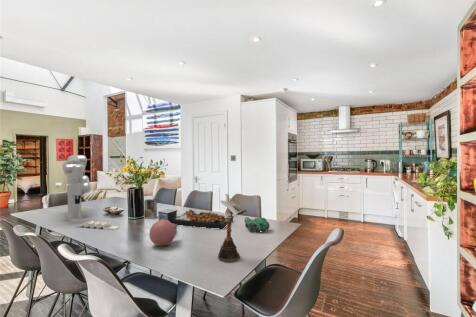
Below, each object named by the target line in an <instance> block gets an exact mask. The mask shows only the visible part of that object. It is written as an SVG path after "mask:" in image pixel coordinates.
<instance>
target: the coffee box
mask: <svg viewBox="0 0 476 317" xmlns="http://www.w3.org/2000/svg"><path fill="white" fill-rule="evenodd" d="M157 201H158V200H157V199H156V198H155V199H154V198H152V199H145V200H144V201H143V202H144V204H143V206H144V208H143V209H144V212H143V214H144V218H143V219H144V220H146V219H147V220H149V219H150V220H151V219H152V220H154V218H155V219H157V218H158V211H157V210H158V202H157Z"/></svg>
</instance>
